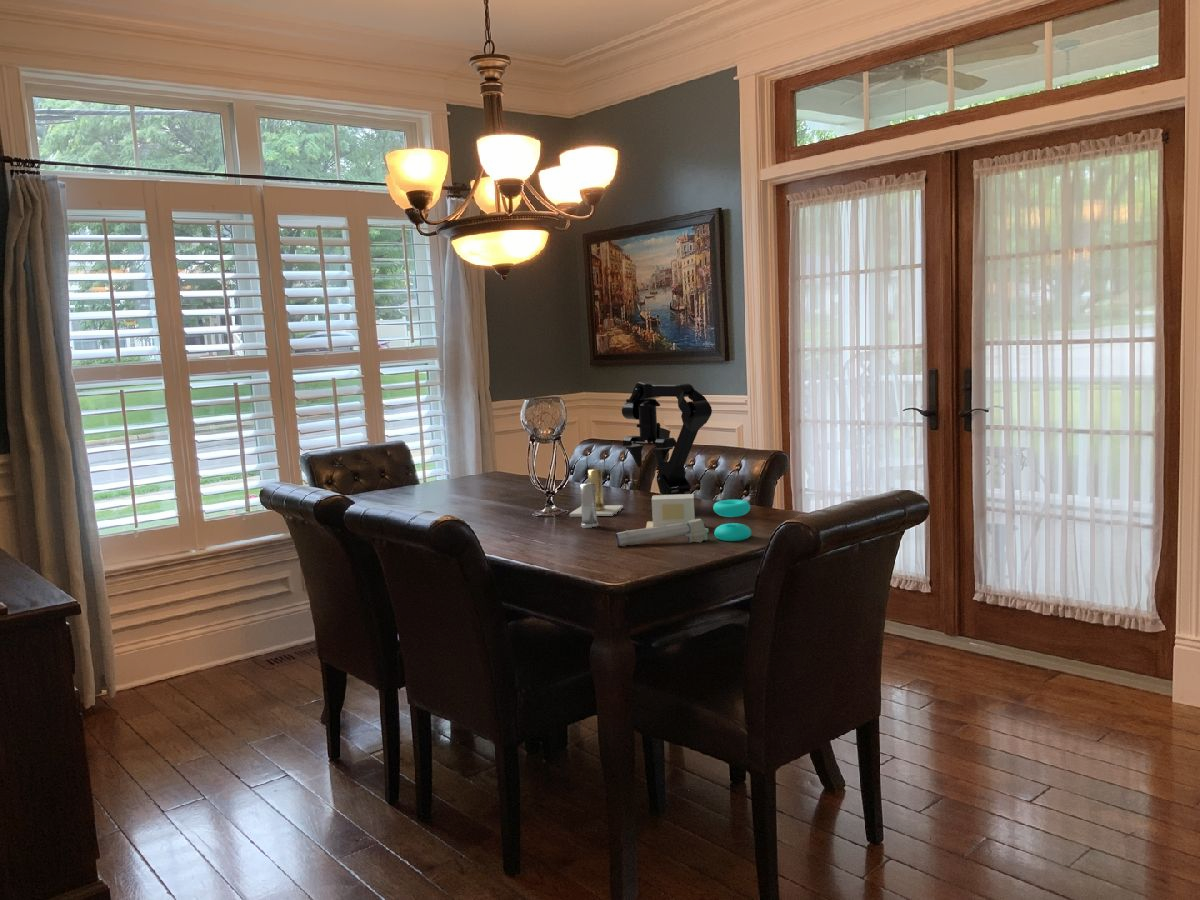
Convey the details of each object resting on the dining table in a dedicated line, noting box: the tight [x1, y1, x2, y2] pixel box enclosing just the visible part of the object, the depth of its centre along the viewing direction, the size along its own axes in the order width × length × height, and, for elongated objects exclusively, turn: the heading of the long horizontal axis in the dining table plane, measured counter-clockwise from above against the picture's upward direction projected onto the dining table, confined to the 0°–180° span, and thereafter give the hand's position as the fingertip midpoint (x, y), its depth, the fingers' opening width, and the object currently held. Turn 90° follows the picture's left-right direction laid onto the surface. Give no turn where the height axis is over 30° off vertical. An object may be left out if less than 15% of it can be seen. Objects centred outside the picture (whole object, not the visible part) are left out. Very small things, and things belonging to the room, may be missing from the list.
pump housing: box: [645, 493, 696, 528], centre depth 278 cm, size 12×16×9 cm
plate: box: [568, 504, 624, 518], centre depth 308 cm, size 14×14×1 cm
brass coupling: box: [587, 468, 605, 511], centre depth 307 cm, size 5×5×13 cm
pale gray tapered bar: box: [614, 518, 710, 547], centre depth 258 cm, size 5×7×25 cm
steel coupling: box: [579, 482, 599, 529], centre depth 285 cm, size 5×5×13 cm
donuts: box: [712, 499, 752, 542], centre depth 260 cm, size 10×10×10 cm
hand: (650, 468), depth 310 cm, fingers open, 9 cm apart
